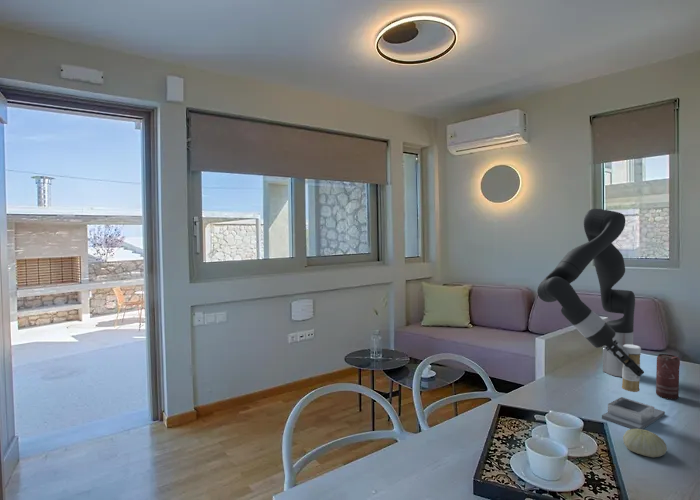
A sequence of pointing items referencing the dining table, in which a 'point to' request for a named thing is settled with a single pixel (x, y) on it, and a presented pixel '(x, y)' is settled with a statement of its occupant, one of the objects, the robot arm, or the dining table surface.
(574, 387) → the dining table surface
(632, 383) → the sprinkles bottle
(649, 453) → the sea urchin shell
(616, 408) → the collar
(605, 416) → the slate board
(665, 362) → the can
